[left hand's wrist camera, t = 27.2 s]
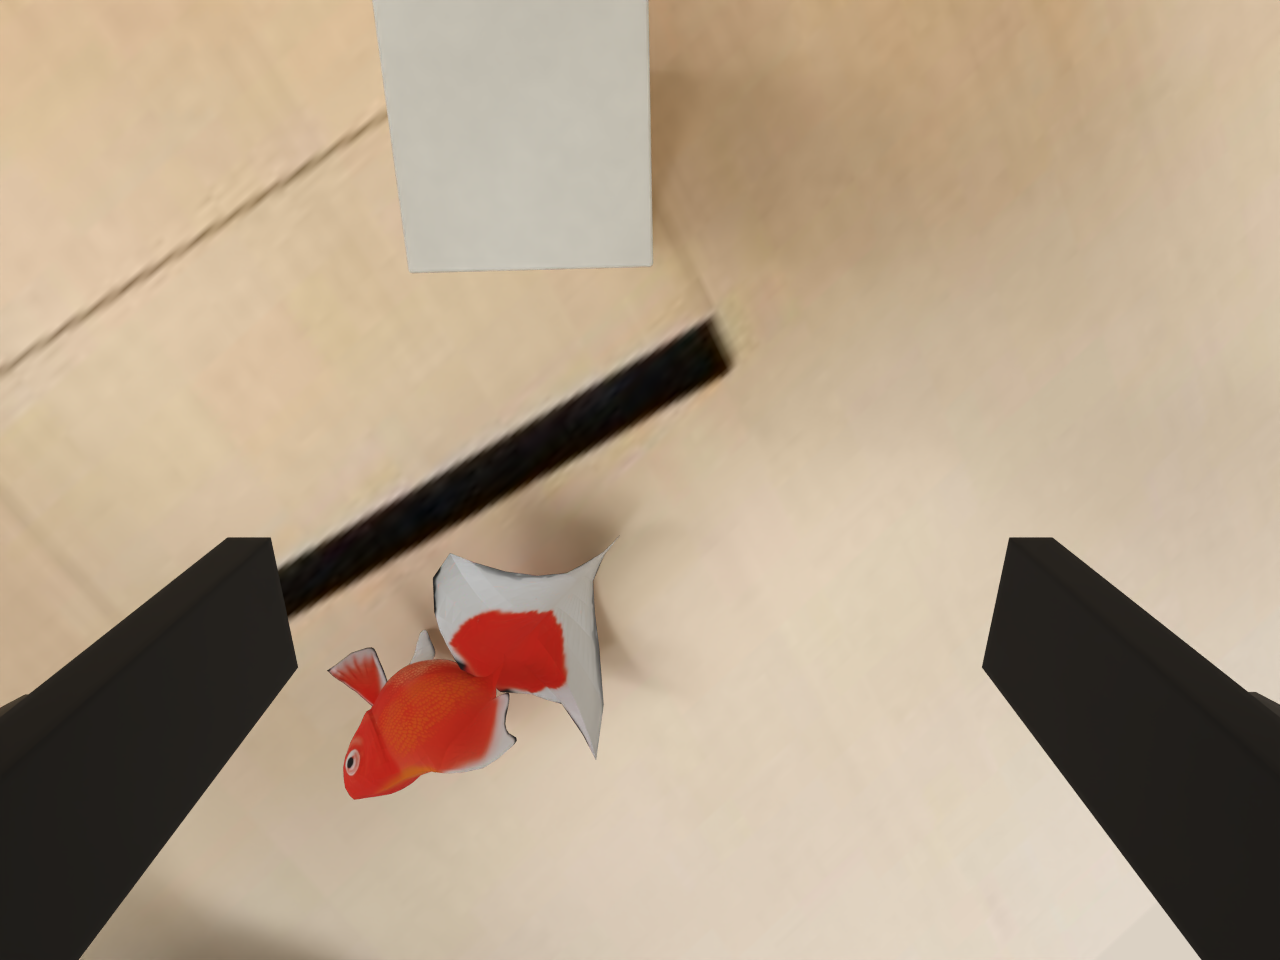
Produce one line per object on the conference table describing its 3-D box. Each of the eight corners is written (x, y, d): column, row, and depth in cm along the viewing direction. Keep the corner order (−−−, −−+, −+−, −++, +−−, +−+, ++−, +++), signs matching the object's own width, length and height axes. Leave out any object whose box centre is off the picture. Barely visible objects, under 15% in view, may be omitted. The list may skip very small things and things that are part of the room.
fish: (221, 616, 29) (246, 801, 21) (542, 427, 33) (655, 527, 26) (356, 746, 35) (411, 923, 28) (609, 575, 40) (714, 689, 32)
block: (641, 69, 26) (648, -38, 15) (644, 249, 29) (653, 267, 18) (475, 73, 26) (366, -30, 15) (492, 254, 29) (407, 273, 18)
